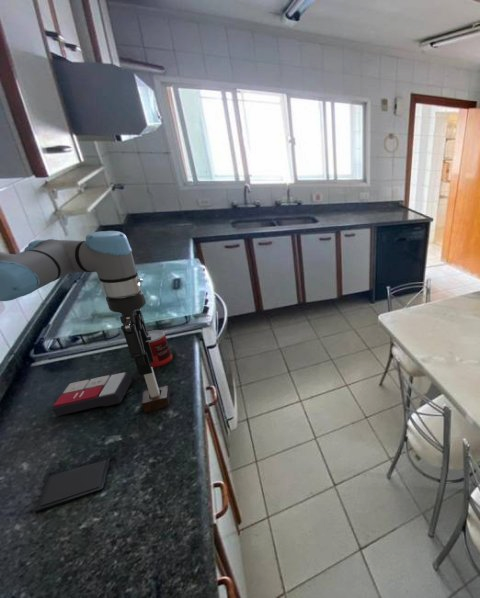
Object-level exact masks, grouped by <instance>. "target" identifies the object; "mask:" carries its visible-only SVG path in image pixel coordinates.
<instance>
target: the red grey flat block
mask: <svg viewBox="0 0 480 598" xmlns="http://www.w3.org/2000/svg"><path fill="white" fill-rule="evenodd" d="M132 382H133V380H132V378H131V376H130V374H129V372H128V371H123V372H119V373H115V374H111V375H109V374H108V375H102V376H98V377H94V378H91V379H84V380H80V381H75V382H71V383H69V384H68V385H67V387H66V388H65V389H64V391H63V392H62V393H61V395H60V396H59V397H58V399H57V400H56V401H55V402H54V404H53V406H52V407H51V410H52V411H53V413H54V414H55V416H56V417H59V416H64V415H65V416H66V415H68V414H72V413H77V412H81V411H86V410H90V409H94V408H98V407H109V406H114V405H118V404H121V403H122V401H123V399H124V397H125V395H126V394H127V391H128V389H129V388H130V385H131V384H132Z"/></svg>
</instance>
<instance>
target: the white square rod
mask: <svg viewBox="0 0 480 598" xmlns="http://www.w3.org/2000/svg"><path fill="white" fill-rule="evenodd" d="M151 369H152V373H150V374H145V375H143V377H144V380H145V384H146V386H147V390H149V393H150V396H151V398H153V397H158V396H161V395H160V391H159V385H158V382H157V378H156V375H155V371H154V368H152V367H151Z"/></svg>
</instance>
